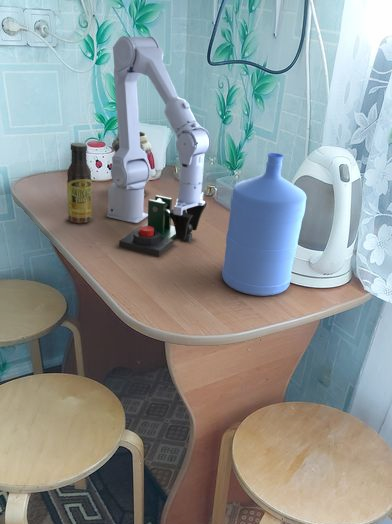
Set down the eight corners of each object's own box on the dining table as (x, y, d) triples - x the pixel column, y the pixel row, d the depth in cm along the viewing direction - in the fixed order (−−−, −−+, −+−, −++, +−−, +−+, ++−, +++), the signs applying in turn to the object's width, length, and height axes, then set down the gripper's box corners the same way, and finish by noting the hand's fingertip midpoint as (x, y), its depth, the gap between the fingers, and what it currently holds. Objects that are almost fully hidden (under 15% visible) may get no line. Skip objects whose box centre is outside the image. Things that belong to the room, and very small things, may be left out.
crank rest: (180, 240, 134) (180, 234, 133) (183, 237, 136) (183, 231, 135) (188, 242, 134) (189, 236, 133) (191, 239, 135) (192, 233, 134)
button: (136, 235, 127) (136, 228, 126) (143, 231, 129) (143, 224, 128) (149, 238, 126) (150, 232, 125) (156, 234, 128) (156, 227, 127)
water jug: (271, 305, 109) (297, 171, 94) (208, 282, 116) (222, 153, 100) (299, 279, 121) (326, 156, 105) (241, 260, 127) (258, 141, 111)
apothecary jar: (148, 200, 158) (150, 139, 148) (108, 197, 158) (108, 135, 147) (151, 188, 168) (153, 130, 158) (114, 185, 168) (114, 126, 157)
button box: (119, 247, 128) (119, 233, 126) (134, 236, 134) (134, 223, 132) (159, 257, 125) (159, 243, 123) (172, 245, 131) (173, 232, 129)
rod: (190, 234, 135) (196, 226, 133) (186, 238, 133) (192, 229, 131) (155, 205, 135) (161, 196, 133) (150, 208, 132) (156, 199, 131)
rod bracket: (182, 232, 139) (185, 198, 134) (168, 243, 132) (170, 208, 127) (149, 224, 142) (150, 191, 137) (134, 235, 135) (134, 200, 130)
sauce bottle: (71, 225, 137) (67, 147, 125) (65, 217, 141) (60, 141, 130) (95, 223, 139) (93, 146, 128) (88, 215, 144) (85, 140, 133)
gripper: (194, 192, 119) (190, 246, 127) (216, 177, 131) (210, 228, 138) (167, 186, 121) (164, 240, 129) (190, 172, 133) (186, 222, 140)
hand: (186, 233), depth 134 cm, fingers open, 7 cm apart
